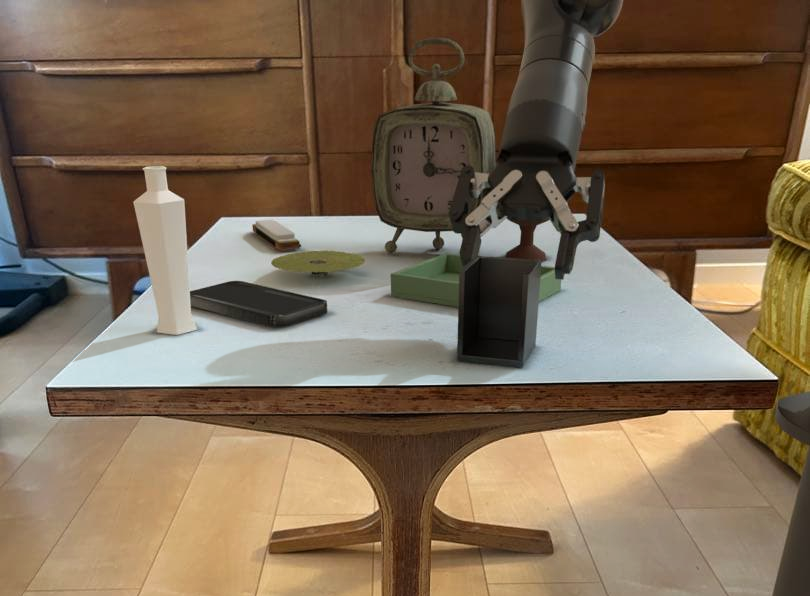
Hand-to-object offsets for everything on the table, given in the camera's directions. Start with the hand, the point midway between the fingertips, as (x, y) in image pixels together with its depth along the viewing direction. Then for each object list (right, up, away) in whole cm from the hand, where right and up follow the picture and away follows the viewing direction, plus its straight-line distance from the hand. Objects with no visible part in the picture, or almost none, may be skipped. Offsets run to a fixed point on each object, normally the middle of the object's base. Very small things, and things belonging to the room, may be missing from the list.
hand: (513, 271), depth 82 cm
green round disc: (-20, +7, +25) cm, 33 cm away
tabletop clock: (-6, +14, +36) cm, 39 cm away
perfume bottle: (-33, -4, +6) cm, 34 cm away
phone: (-26, 0, +12) cm, 29 cm away
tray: (-2, +3, +17) cm, 18 cm away
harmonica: (-28, +17, +43) cm, 54 cm away
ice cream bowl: (+6, +12, +33) cm, 35 cm away
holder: (-2, -8, -1) cm, 8 cm away
